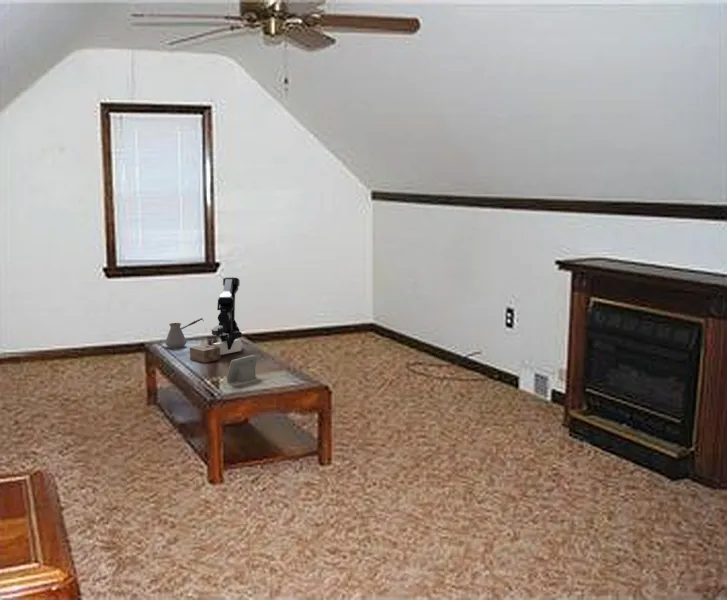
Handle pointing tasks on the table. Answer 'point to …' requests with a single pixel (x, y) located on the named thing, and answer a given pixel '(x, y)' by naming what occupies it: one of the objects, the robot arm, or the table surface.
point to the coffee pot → (177, 335)
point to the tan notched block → (204, 353)
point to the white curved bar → (224, 347)
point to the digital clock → (242, 369)
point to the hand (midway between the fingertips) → (227, 349)
